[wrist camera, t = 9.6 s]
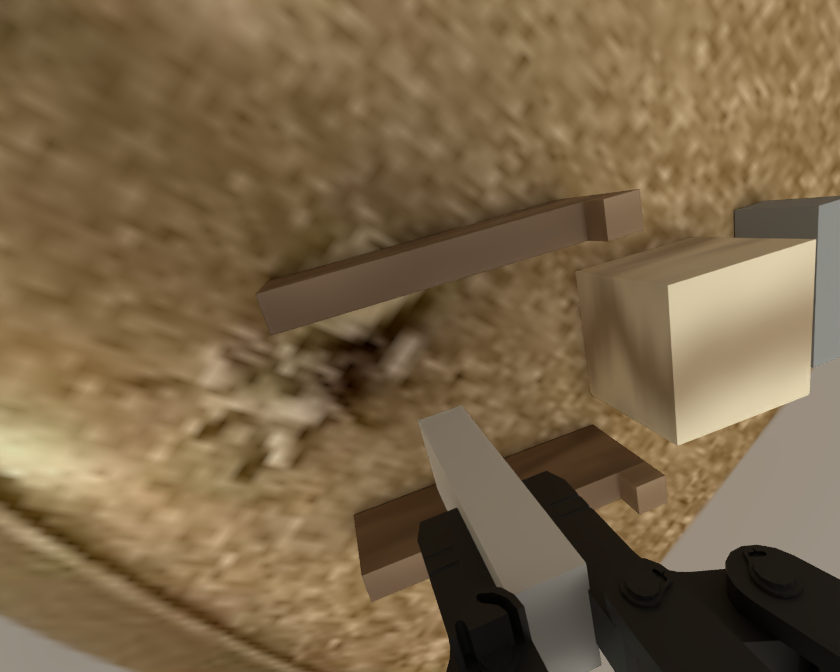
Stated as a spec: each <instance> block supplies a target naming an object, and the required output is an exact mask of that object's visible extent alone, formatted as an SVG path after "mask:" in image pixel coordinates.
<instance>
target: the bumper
mask: <svg viewBox="0 0 840 672" xmlns="http://www.w3.org/2000/svg"><path fill="white" fill-rule="evenodd" d="M734 214H735V238H779V239H816V254H815V277H814V299H813V322H812V345H811V367H813V368H814V367H816V366H819V365H821V364H824V363H826V362H829V361H832V360H834V359H837V358H839V357H840V196H831V197H816V198H801V199H786V200H771V201H763V202H760V203H756V204H753V205H750V206H746V207H743V208H740V209H737V210H734Z"/></svg>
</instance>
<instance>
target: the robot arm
mask: <svg viewBox="0 0 840 672" xmlns="http://www.w3.org/2000/svg"><path fill="white" fill-rule="evenodd" d="M418 423H419V427H420V430H421V434H422V437H423V441H424V444H425V447H426V451H427V454H428V458H429V461H430V465H431V468H432V472H433V475H434V479H435V482H436V486H437V489H438V491H439V494H440V496H441V498H442V500H443V502H444V504H445V507H446V509H447V512H444V513H442V514H439V515H437V516H434V517H431V518H429V519H426V520H424V521H421V522H420V526H419V532H418V539H417V541H418V544H419V547H420V550H421V554H422V557H423V560H424V563H425V566H426V569H427V572H428V575H429V578H430V581H431V584H432V588H433V591H434V594H435V597H436V600H437V603H438V606H439V609H440V612H441V615H442V619H443V622H444V625H445V628H446V631H447V634H448V638H449V643H450V660H449V664H448V667H447V671H446V672H588V671H590V670H592V669H594V668H597V667H599V666H601V658H600V652H599V648H600V650H601V651H602V653H603V654H604V656H605V657H606V659H607V660H608V662H609V663H610V665H611V666H612V668H613V669H614V671H615V672H840V579H837V578H836V577H834V576H832V575H830V574H828V573H826V572H824V571H822V570H820V569H819V568H817V567H815V566H813V565H811V564H809V563H807V562H805V561H803V560H802V559H800V558H798V557H796V556H794V555H791V554H789V553H786V552H784V551H781V550H779V549H776V548H772V547H767V546H761V545H750V546H741V547H739V548H737V549H735V550H734V551H732V552H730V554H729V556H728V558H727V560H726V563H725V564H726V565H725V567H726V568H725V569H719V570H708V571H697V572H675V571H670V570H668V569H666V568H665V567H664V566H662V565H661V564H659V563H656V562H653V561H651V560H648V559H645V558H641V557H639V556H638V555H637V554H636V553H635V552H634V551H633V550H632V549H631V548H630V547H629V546H628V545H627V544H626V543H625V542H624V541H623V540H622V539H621V538H620V537H619V536H618V535H617V534H616V533H615V532H614V531H613V530H612V528H611V527H610V526H609V525H608V524H607V523H606V522H605V521H604V520H603V519H602V518H601V517H600V516H599V515H598V514H597V513H596V512H595V511H594V510H593V509H592V508H590V507H589V504H588V503H587V502H586V501H585V500H584V499H583V498H582V497H581V496H579V495H578V493H577V492H576V491H575V490H574V489H573V488H572V487H571V486H570V485H569V483H568V482H567V481H566V480H565V479H563V478H561V477H559V476H557V475H555V474H552V473H550V472H548V471H544V472H542V473H539V474H536V475H534V476H531V477H529V478H526V479H524V480H520V479H519V477H518V476H517V475H516V474H515V472H514V471H513V470H512V468H511V467H510V466H509V465H508V463H507V462H506V461H505V460H504V458H503V457H502V456H501V454H500V453H499V452H498V451H497V449H496V448H495V447H494V446H493V444H492V443H491V442H490V440H489V439H488V438H487V437H486V435H485V434H484V433H483V432H482V430H481V429H480V428H479V427H478V425H477V424H476V423H475V421H474V420H473V419H472V418H471V416H470V415H469V414H468V413H467V411H466V410H465V409H464V407H463V406H462V405H460V406H457V407H454V408H451V409H449V410H446V411H443V412H440V413H437V414H435V415H432V416H429V417H426V418H423V419H421V420H418Z"/></svg>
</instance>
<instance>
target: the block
mask: <svg viewBox="0 0 840 672" xmlns="http://www.w3.org/2000/svg"><path fill="white" fill-rule="evenodd" d="M815 254H816V239H779V238H713V237H691V238H687V239H684V240H680V241H677V242H674V243H670V244H667V245H663V246H660V247H656V248H653V249H650V250H646V251H643V252H639V253H636V254H633V255H629V256H626V257H622V258H619V259H616V260H612V261H609V262H605V263H602V264H599V265H595V266H592V267H588V268H585V269H581V270H578V271H575V272H576V280H577V288H578V296H579V304H580V312H581V320H582V328H583V336H584V344H585V352H586V360H587V368H588V376H589V384H590V392H591V395H593V396H595V397H596V398H598V399H600V400H601V401H603V402H605V403H606V404H608V405H610V406H611V407H613V408H615V409H616V410H618V411H620V412H622V413H623V414H625V415H627V416H628V417H630V418H632V419H633V420H635V421H637V422H638V423H640V424H642V425H643V426H645V427H647V428H649V429H650V430H652V431H654V432H655V433H657V434H659V435H660V436H662V437H664V438H665V439H667V440H669V441H670V442H672V443H674V444H675V445H677V446H678V445H681V444H683V443H686V442H688V441H691V440H694V439H696V438H699V437H701V436H704V435H706V434H709V433H712V432H714V431H717V430H719V429H722V428H724V427H727V426H730V425H732V424H735V423H737V422H740V421H742V420H745V419H748V418H750V417H753V416H755V415H758V414H760V413H763V412H766V411H768V410H771V409H773V408H776V407H779V406H781V405H784V404H786V403H789V402H791V401H794V400H797V399H799V398H801V397H804V396H807V395H809V390H810V367H811V345H812V322H813V299H814V277H815Z"/></svg>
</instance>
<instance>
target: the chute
mask: <svg viewBox="0 0 840 672" xmlns="http://www.w3.org/2000/svg"><path fill="white" fill-rule="evenodd" d="M640 231H643V220H642V208H641V197H640V189H637V190H629V191H621V192H613V193H606V194H598V195H590V196H583V197H575V198H567V199H560V200H556V201H553V202H549V203H546V204H542V205H539V206H535V207H531V208H528V209H524V210H521V211H517V212H513V213H510V214H506V215H503V216H499V217H496V218H492V219H488V220H485V221H481V222H478V223H474V224H470V225H467V226H463V227H460V228H456V229H452V230H449V231H445V232H442V233H438V234H435V235H431V236H427V237H424V238H420V239H417V240H413V241H409V242H406V243H402V244H399V245H395V246H392V247H388V248H384V249H381V250H377V251H374V252H370V253H366V254H363V255H359V256H356V257H352V258H349V259H345V260H341V261H338V262H334V263H331V264H327V265H323V266H320V267H316V268H313V269H309V270H305V271H302V272H298V273H295V274H291V275H288V276H284V277H280V278H277V279H273V280H270V281H268V282H267V283H266V284H265V285H264V286H263V287H262V288H261V289H260V290H259V291H258V292H257V293H256V294H255V295H256V298H257V300H258V303H259V306H260V308H261V311H262V314H263V316H264V319H265V321H266V324H267V327H268V329H269V332H270V335H275V334H278V333H281V332H285V331H288V330H291V329H295V328H298V327H301V326H305V325H308V324H311V323H315V322H318V321H321V320H325V319H328V318H331V317H335V316H338V315H341V314H345V313H348V312H351V311H355V310H358V309H361V308H365V307H368V306H371V305H375V304H378V303H381V302H385V301H388V300H391V299H395V298H398V297H401V296H405V295H408V294H411V293H415V292H418V291H421V290H425V289H428V288H431V287H435V286H438V285H441V284H445V283H448V282H451V281H455V280H458V279H461V278H465V277H468V276H471V275H475V274H478V273H481V272H485V271H488V270H491V269H495V268H498V267H501V266H505V265H508V264H512V263H515V262H518V261H522V260H525V259H528V258H532V257H535V256H538V255H542V254H545V253H548V252H552V251H555V250H558V249H562V248H565V247H568V246H572V245H575V244H578V243H582V242H585V241H611V240H614V239H617V238H621V237H624V236H627V235H631V234H634V233H637V232H640ZM504 460H505V461H506V462H507V463H508V465H509V466H510V467H511V468H512V470H513V471H514V472H515V474H516V475H517V476H518V477H519V479H520V480H524V479H526V478H529V477H531V476H534V475H536V474H539V473H542V472H544V471H548V472H550V473H552V474H555V475H557V476H559V477H561V478H563V479H565V480H566V481H567V482H568V483H569V485H570V486H571V487H572V488H573V489H574V490H575V491H576V492H577V493H578V495H579V496H581V497H582V498H583V499H584V500H585V501H586V502H587V503H588V504H589V507H590V508H592V509H593V510H595V509H597V508H600V507H602V506H604V505H607V504H609V503H612V502H614V501H616V500H619V499H622V500H624V501H625V502H626V503H627V504H628V505H629V506H630V507H632V508H633V509H634V510H635V511H636V512H637V513H638V514H642V513H644V512H646V511H649V510H651V509H653V508H656V507H658V506H660V505H663V504H665V503H668V502H667V491H666V479H665V475H664V474H662V473H661V472H660V471H658V470H657V469H655V468H654V467H652V466H651V465H650V464H648V463H647V462H645V461H644V460H642V459H641V458H640V457H638V456H637V455H635V454H634V453H632V452H631V451H630V450H628V449H627V448H625V447H624V446H623V445H621V444H620V443H618V442H617V441H615V440H614V439H613V438H611V437H610V436H608V435H607V434H605V433H604V432H603V431H601V430H600V429H598V428H597V427H595V426H594V425H591V426H588V427H586V428H583V429H580V430H578V431H575V432H572V433H570V434H567V435H565V436H562V437H559V438H557V439H554V440H551V441H549V442H546V443H543V444H541V445H538V446H536V447H533V448H530V449H528V450H525V451H522V452H520V453H517V454H514V455H512V456H509V457H506V458H504ZM444 512H447V509H446V507H445V504H444V502H443V500H442V498H441V496H440V494H439V491H438V489H437V486H436V484H435V485H433V486H430V487H427V488H425V489H422V490H419V491H417V492H414V493H411V494H409V495H406V496H404V497H401V498H398V499H396V500H393V501H390V502H388V503H385V504H382V505H380V506H377V507H375V508H372V509H369V510H367V511H364V512H361V513H359V514H356V515H354V520H355V528H356V536H357V543H358V551H359V559H360V567H361V574H362V578H363V581H364V583H365V586H366V589H367V591H368V594H369V597H370V599H371V602H373V601H376V600H378V599H380V598H383V597H385V596H388V595H390V594H393V593H395V592H397V591H400V590H402V589H405V588H407V587H409V586H412V585H414V584H417V583H419V582H421V581H424V580H426V579H429V575H428V572H427V569H426V566H425V563H424V560H423V557H422V554H421V550H420V547H419V544H418V541H417V539H418V532H419V526H420V522H421V521H424V520H426V519H429V518H431V517H434V516H437V515H439V514H442V513H444Z"/></svg>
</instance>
